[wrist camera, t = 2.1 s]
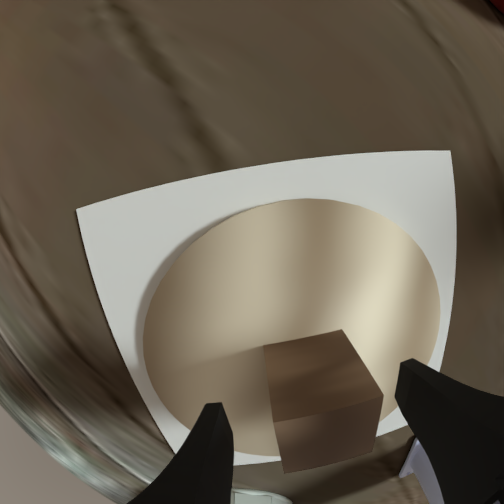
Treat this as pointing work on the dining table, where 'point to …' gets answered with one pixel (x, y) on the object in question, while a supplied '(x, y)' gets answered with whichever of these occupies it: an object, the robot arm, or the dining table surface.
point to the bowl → (256, 497)
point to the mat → (244, 198)
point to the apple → (498, 5)
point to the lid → (293, 327)
